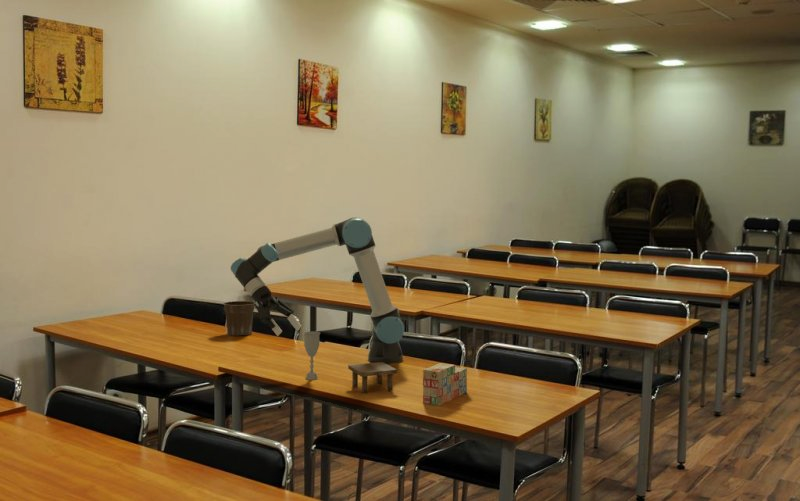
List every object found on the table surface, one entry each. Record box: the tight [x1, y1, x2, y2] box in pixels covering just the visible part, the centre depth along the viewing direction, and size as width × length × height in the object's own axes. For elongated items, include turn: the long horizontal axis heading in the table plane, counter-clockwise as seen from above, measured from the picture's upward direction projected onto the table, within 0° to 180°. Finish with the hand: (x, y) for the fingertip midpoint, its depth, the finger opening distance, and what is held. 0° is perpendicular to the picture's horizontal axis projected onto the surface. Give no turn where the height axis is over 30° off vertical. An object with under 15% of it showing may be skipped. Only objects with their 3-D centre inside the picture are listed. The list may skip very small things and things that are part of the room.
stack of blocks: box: [422, 362, 468, 407], centre depth 287 cm, size 21×6×12 cm, turn 148°
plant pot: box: [223, 300, 256, 337], centre depth 409 cm, size 16×16×16 cm
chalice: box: [302, 331, 321, 381], centre depth 315 cm, size 7×7×18 cm
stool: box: [347, 362, 398, 394], centre depth 300 cm, size 14×14×8 cm
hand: (289, 330), depth 319 cm, fingers open, 13 cm apart
